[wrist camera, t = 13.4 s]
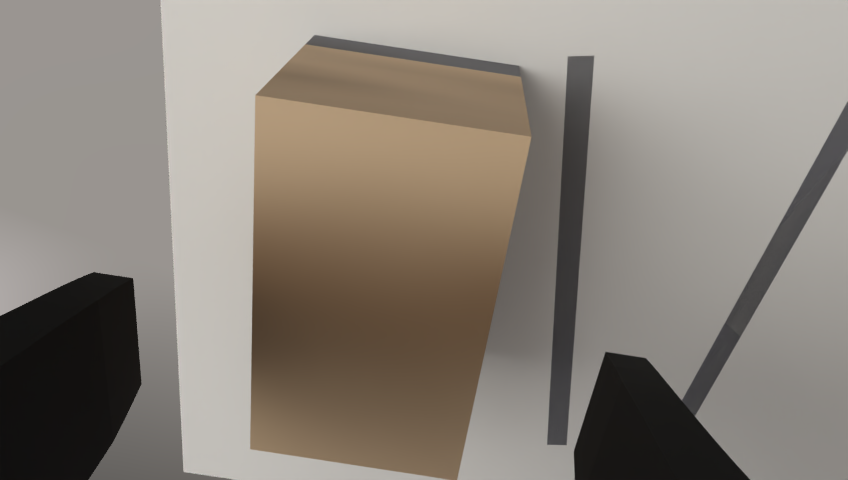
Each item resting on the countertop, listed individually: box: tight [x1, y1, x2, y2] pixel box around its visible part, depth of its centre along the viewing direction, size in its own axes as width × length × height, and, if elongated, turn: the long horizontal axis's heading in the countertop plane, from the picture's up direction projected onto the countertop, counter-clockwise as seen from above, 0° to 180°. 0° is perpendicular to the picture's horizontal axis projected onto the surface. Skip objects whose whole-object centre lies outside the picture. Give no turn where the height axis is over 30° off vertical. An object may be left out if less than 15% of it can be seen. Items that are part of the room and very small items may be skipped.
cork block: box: [250, 35, 532, 480], centre depth 13 cm, size 7×4×4 cm, turn 172°
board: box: [161, 0, 848, 480], centre depth 16 cm, size 16×24×1 cm, turn 82°
